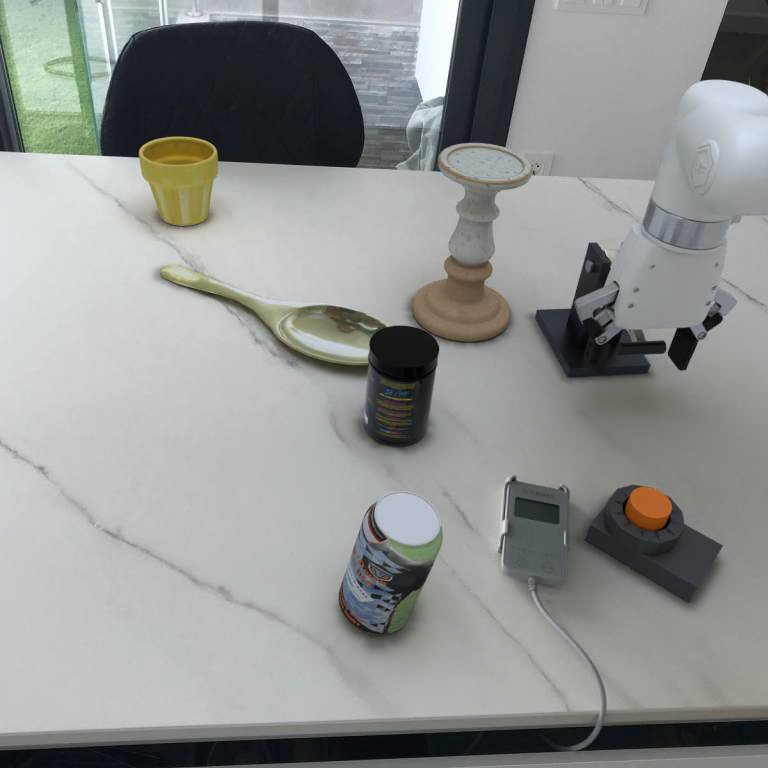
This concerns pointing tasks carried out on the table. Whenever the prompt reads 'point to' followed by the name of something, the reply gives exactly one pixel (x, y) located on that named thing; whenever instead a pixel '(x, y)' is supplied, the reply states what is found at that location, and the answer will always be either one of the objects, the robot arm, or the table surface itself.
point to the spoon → (298, 320)
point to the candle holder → (471, 245)
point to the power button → (648, 508)
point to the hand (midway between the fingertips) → (634, 364)
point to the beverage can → (390, 562)
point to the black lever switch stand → (571, 334)
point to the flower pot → (180, 177)
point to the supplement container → (400, 384)
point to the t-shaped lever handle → (636, 333)
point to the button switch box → (655, 546)
